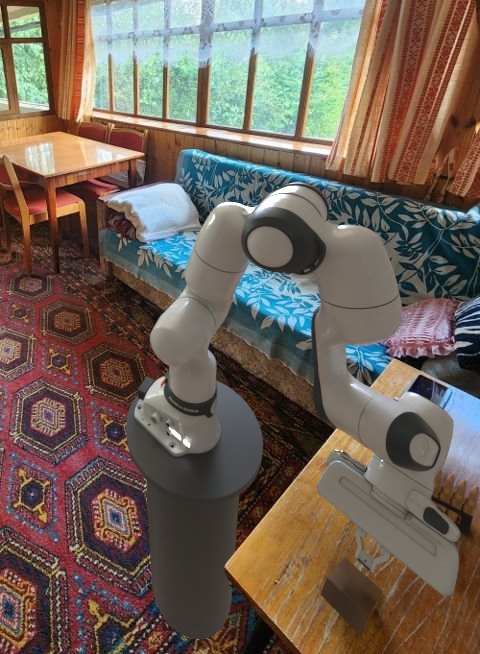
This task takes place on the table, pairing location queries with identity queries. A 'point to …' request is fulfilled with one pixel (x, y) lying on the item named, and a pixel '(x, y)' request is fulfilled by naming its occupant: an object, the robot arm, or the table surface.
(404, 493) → the robot arm
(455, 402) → the table surface
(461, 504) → the ammunition clip
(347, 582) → the walnut block
